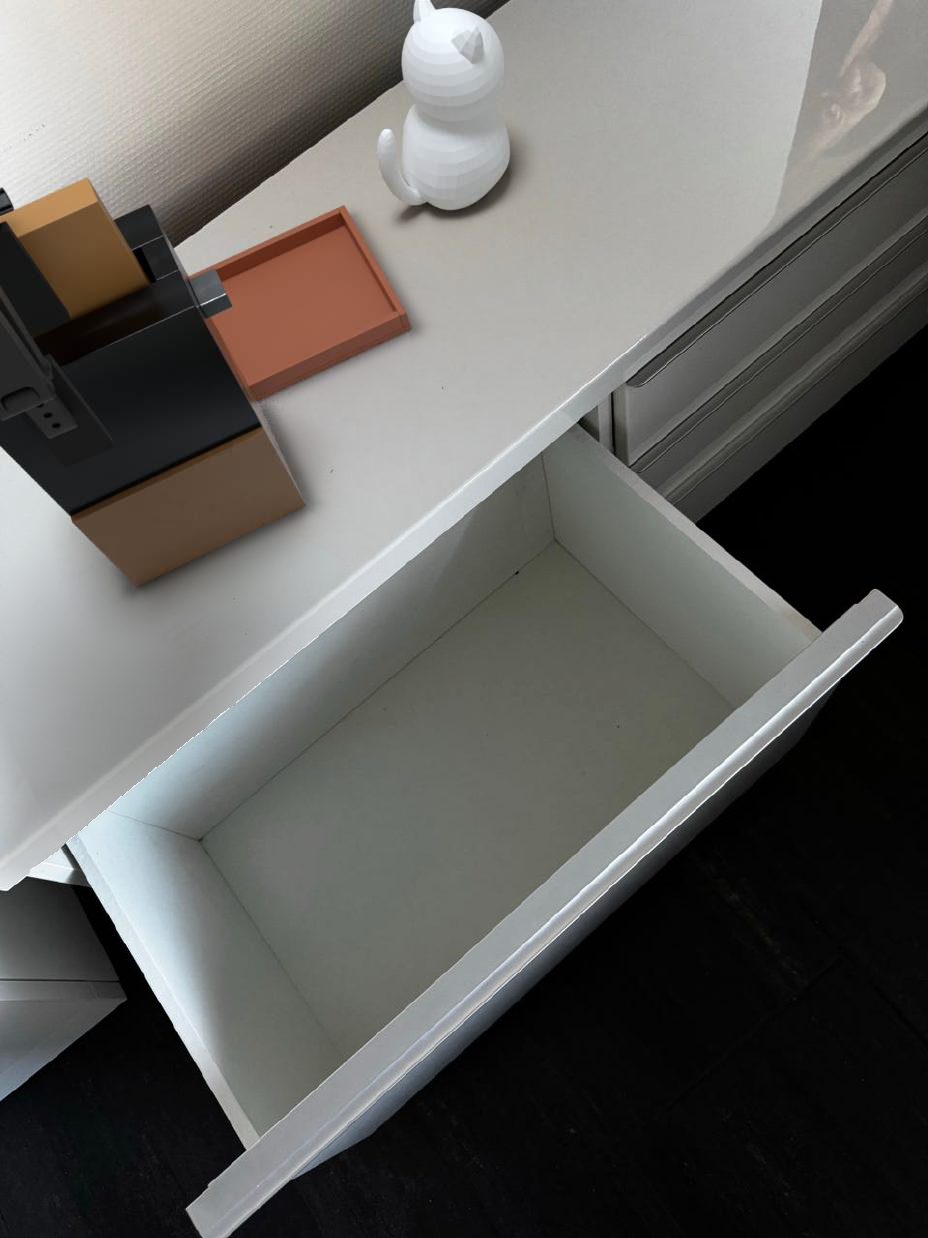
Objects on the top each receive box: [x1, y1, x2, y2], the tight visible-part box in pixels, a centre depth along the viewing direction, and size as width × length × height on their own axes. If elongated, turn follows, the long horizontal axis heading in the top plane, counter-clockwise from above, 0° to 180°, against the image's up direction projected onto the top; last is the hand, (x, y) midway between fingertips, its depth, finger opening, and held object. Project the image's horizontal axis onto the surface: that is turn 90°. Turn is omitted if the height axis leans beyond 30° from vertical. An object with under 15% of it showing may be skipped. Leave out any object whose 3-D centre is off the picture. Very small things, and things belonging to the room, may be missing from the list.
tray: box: [188, 204, 412, 402], centre depth 84 cm, size 15×13×2 cm
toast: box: [0, 177, 151, 338], centre depth 58 cm, size 10×2×10 cm, turn 115°
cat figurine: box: [376, 0, 511, 211], centre depth 82 cm, size 9×12×15 cm
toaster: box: [0, 203, 307, 587], centre depth 69 cm, size 16×10×22 cm, turn 115°
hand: (66, 386), depth 54 cm, fingers open, 9 cm apart
